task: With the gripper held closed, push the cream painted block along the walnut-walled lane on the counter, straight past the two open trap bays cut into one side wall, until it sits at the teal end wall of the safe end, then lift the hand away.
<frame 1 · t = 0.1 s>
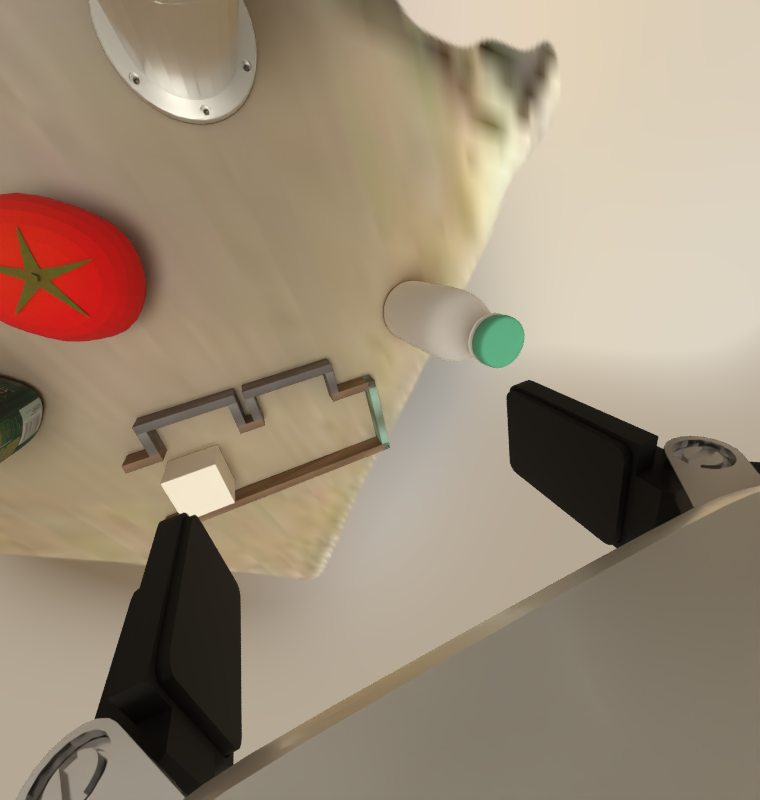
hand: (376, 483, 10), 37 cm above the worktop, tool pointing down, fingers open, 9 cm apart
block: (203, 471, 47), resting in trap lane
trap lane: (271, 446, 49), on the worktop
milk bottle: (408, 310, 48), on the worktop
tomato: (83, 270, 35), on the worktop
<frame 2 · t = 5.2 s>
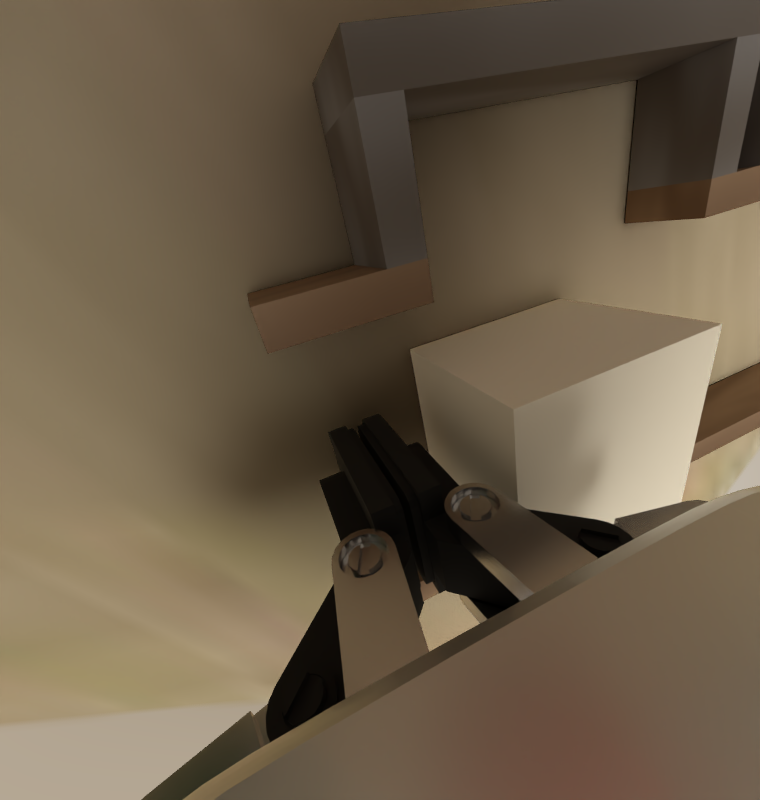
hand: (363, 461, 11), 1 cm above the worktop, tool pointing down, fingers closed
block: (494, 399, 14), resting in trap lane, touching gripper
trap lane: (659, 325, 15), on the worktop
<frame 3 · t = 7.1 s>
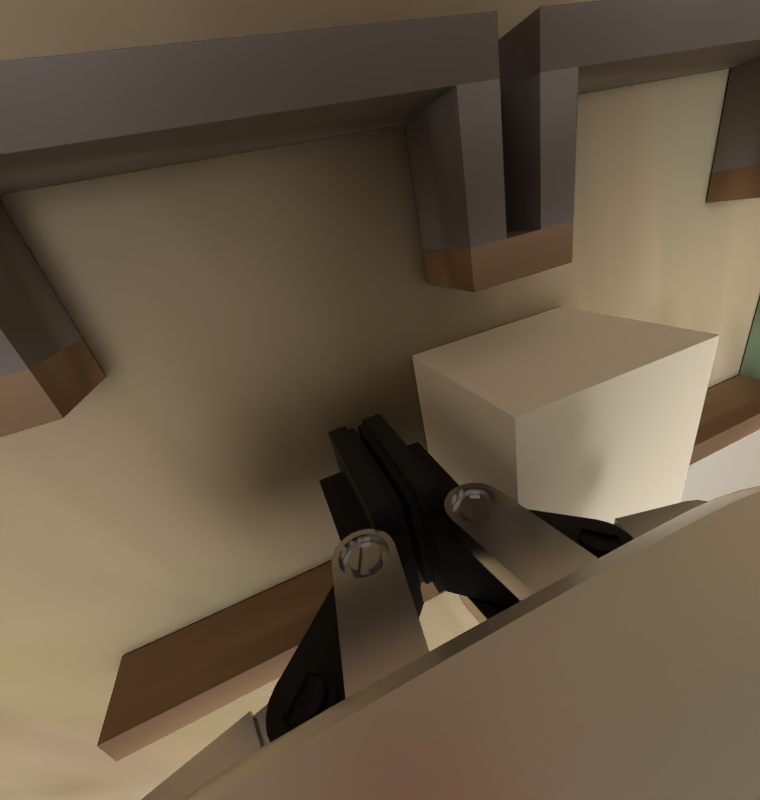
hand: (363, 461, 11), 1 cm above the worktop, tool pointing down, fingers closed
block: (494, 405, 14), resting in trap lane, touching gripper
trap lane: (503, 387, 13), on the worktop
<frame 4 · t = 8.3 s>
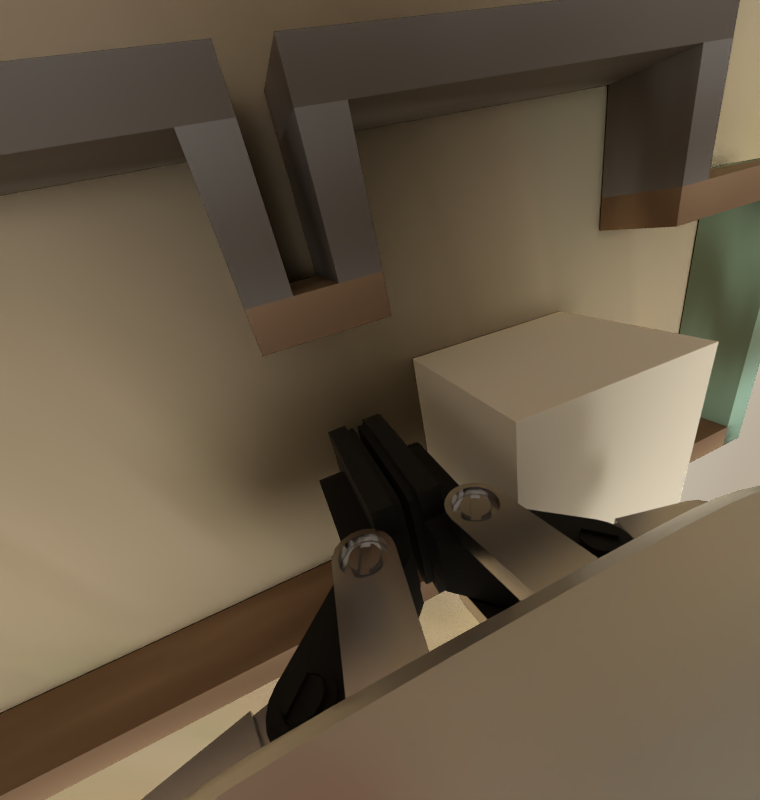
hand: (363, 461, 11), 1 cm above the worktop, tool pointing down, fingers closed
block: (494, 408, 14), resting in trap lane, touching gripper
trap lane: (376, 435, 12), on the worktop
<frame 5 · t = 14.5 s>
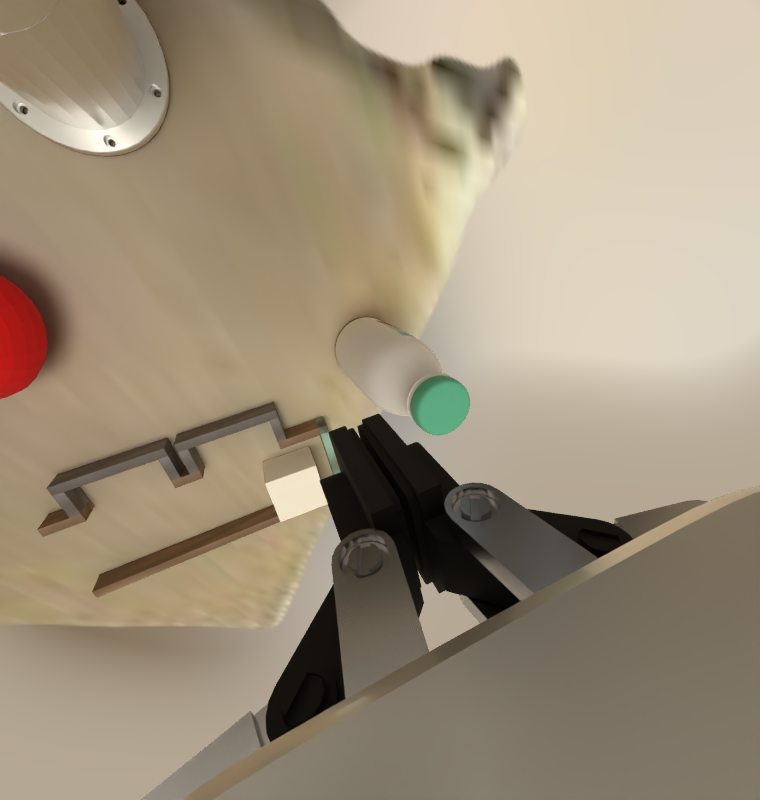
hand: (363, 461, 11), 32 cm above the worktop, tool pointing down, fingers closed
block: (292, 472, 47), resting in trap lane
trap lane: (215, 496, 45), on the worktop
milk bottle: (363, 347, 44), on the worktop
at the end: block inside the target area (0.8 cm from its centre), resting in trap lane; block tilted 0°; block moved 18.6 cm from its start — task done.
